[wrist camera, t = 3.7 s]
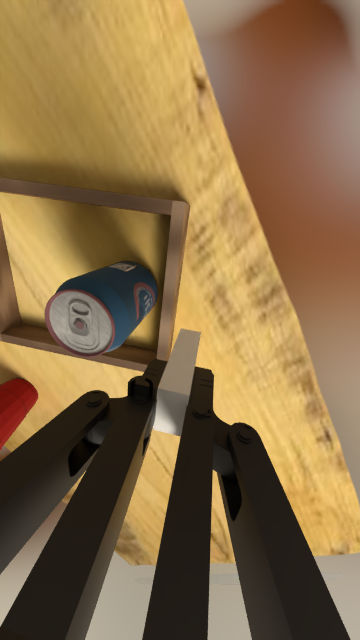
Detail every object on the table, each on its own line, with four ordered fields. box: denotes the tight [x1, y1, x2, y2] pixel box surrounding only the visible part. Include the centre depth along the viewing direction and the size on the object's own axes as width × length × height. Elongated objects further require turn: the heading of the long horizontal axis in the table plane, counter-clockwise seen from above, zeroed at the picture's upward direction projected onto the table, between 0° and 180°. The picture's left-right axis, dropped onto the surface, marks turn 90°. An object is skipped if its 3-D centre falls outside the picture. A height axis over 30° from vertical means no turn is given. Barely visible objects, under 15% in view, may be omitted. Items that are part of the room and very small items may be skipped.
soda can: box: [45, 261, 158, 357], centre depth 22 cm, size 7×7×12 cm
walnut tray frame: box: [0, 178, 190, 372], centre depth 26 cm, size 20×25×4 cm
